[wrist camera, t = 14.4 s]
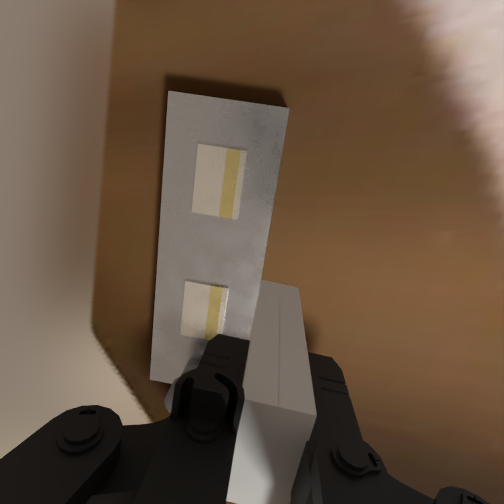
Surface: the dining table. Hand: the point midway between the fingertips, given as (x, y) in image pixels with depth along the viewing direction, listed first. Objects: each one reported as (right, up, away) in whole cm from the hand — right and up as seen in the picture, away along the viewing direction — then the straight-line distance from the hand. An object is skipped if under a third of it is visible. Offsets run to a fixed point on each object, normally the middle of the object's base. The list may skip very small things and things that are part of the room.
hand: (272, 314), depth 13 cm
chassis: (-5, +2, +24) cm, 25 cm away
